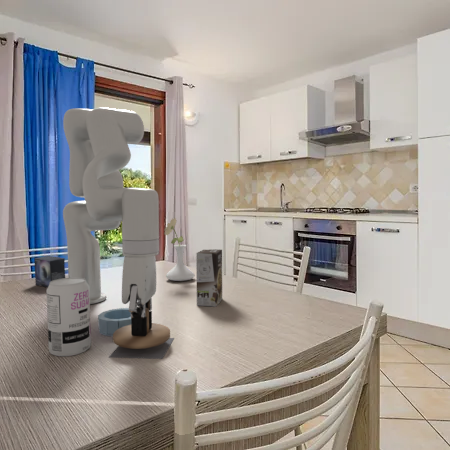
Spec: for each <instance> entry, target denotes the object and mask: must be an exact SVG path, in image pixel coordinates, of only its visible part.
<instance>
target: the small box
mask: <svg viewBox="0 0 450 450" xmlns="http://www.w3.org/2000/svg"><path fill="white" fill-rule="evenodd" d="M33 259H34V276H35V280H34V281H35V285H36V286H39V287H42V288H46V289H47V288H48V286H49V284H50V282H51V281H53V280H57V279H63V278H66V268H65V267H66V266H65V265H66V264H65V259H66V258H64V257H58V256H52V255H47V256H41V257H40V256H39V257H35V258H33Z"/></svg>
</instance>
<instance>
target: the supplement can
mask: <svg viewBox="0 0 450 450" xmlns="http://www.w3.org/2000/svg"><path fill="white" fill-rule="evenodd" d="M45 291H46V312H47V316H46V317H47V336H48V338H47V339H48V352H49V353H50V354H51V355H54V356H56V357H71V356H76V355H80V354H82V353H84V352H86V351H87V350H88V349H90V348H91V346H92V340H91V339H92V333H91V310H90V309H91V308H90V307H91V306H90V305H91V304H90V299H89V285H88V284H87V282H86V279H84V278H69V277H65V278H63V279H57V280H53V281H51V282H50V284H49V286H48V288H47V287H46V290H45Z"/></svg>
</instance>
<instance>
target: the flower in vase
mask: <svg viewBox="0 0 450 450" xmlns="http://www.w3.org/2000/svg"><path fill="white" fill-rule="evenodd" d="M176 225H177V218H176V217H174V218H173V217H172V218H171V219H170V222H168V223H167V226H166V227H165V228H164V230H163V231H164V233H163V235H165V236H168V235H170V234H171V233H172V232H173V231H174V234H175V237H174V238H173V239H172V240H171V241H170V244H172V245H173V244H174V245H173V247H174V248H175V251H176V256H177V259H176V260H177V261H176V264H175V266H174V267H172V268H171V269H170V270H169V271H168V272H167V273H166V274H165V275H166V276H165V277H166V279H168V280H170V281H176V282H183V281H184V282H185V281H189V280H192V279H194V277H195V276H196V275H195V273H194V272H193V270H191V269H190V268H189V267H188V266H187V265H186V264H185V263H184V251H185V249H186V247H187V244H180V243H183V242H184V238H183V235H181V236H179V237H178V234H177V233H176V232H177V231H176V230H175V227H176ZM176 242H178V244H175V243H176Z"/></svg>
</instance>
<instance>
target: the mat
mask: <svg viewBox="0 0 450 450" xmlns="http://www.w3.org/2000/svg"><path fill="white" fill-rule="evenodd" d="M174 340H175V338H174V337H170V338H169V339H168V340H167V341H166V342H165V343H163V344H160V345H158V346H154V347H150V348H142V349H130V348H124V347H120V346H118V345H117V347H116V348H115V349H114V350H113V351H112V353H110V354H109V356H108V358H110V359H111V358H115V359H117V358H118V359H120V358H121V359H148V360H149V359H150V360H151V359H154V360H163V358H164V357H165V355H166V354H167V352H168V350H169V348H170V346H171V345H172V343H173V341H174Z"/></svg>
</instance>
